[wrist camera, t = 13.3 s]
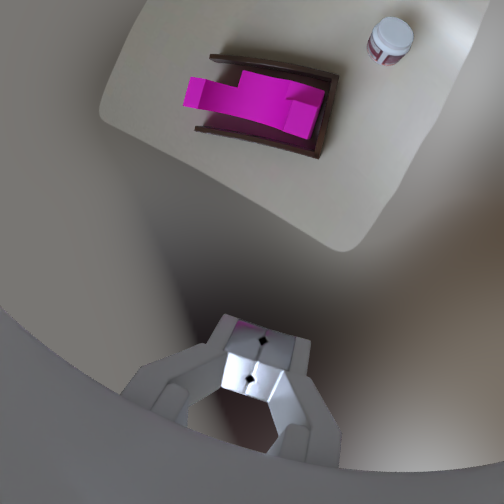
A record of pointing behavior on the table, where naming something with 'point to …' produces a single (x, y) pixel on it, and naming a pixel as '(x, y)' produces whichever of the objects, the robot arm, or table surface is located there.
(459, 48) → the table surface
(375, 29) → the pill bottle
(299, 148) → the bay
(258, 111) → the toy block
